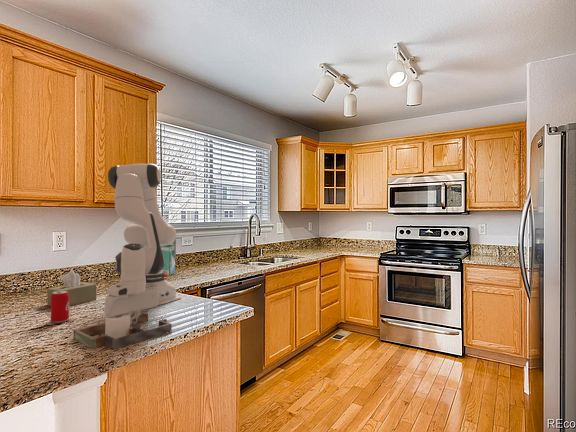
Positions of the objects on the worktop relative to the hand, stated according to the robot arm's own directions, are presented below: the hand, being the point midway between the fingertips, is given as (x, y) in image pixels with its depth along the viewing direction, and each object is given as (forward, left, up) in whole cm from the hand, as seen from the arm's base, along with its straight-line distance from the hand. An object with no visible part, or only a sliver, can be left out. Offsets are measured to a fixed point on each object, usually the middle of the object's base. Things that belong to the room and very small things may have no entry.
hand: (132, 323), depth 134 cm
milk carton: (-78, -92, -3) cm, 121 cm away
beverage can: (+13, -32, -3) cm, 35 cm away
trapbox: (+4, +3, -3) cm, 5 cm away
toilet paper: (+5, 0, -3) cm, 6 cm away
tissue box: (-3, -60, -3) cm, 60 cm away
